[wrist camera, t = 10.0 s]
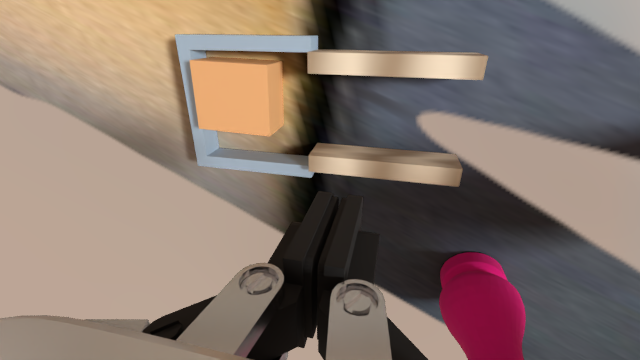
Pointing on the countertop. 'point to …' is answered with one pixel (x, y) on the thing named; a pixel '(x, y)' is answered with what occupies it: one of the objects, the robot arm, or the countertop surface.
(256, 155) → the bay
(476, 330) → the pepper mill
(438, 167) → the pair of wooden slats
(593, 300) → the countertop surface
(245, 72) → the block
